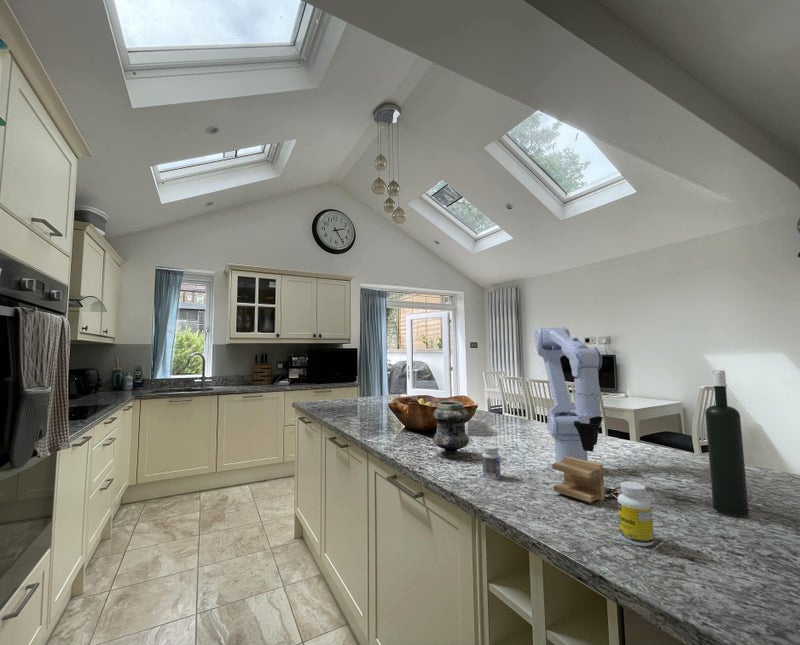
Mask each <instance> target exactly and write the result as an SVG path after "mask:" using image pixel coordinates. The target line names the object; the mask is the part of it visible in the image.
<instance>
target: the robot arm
mask: <svg viewBox="0 0 800 645" xmlns="http://www.w3.org/2000/svg"><path fill="white" fill-rule="evenodd" d="M534 344H535V348H536V352H537V355H538V356H539V357H541V358H542V359H543V362H544V367H545V371H546V376H547V379H548V384H549V390H550V393H551V398H552V401H553V402H552V403H553V406H552V407H551V408H550V409H549V410H548V411H547V414H546V419H547V421H546V422H547V430H548V434H550V435H551V437H552V438H554V455H555V456H554V458H555V463H557V462H560V461H563V457H565V456H568V457H573V458H577V459H581V460H586V461H589V460H588V458H589V457H588V452H594V449H595V445H597V444H598V438H599V430H600V427H601V423H602V421H603V419H604V418H603V416H602V411H601V400H600V399H601V397H600V381H599V370H601V368H602V365H603V357H602V356H603V355H602V353H601V351H600V349H598V347H597V346H596V347H592V348H590V347H588V346H587V345H586V344H585V343H583V342H582V341H581V340H579V338H578V337H576V336H575V337H571V333H570V331H569V329H568V328H567V326H566V327H565V326H563V327H537V328H536V329H535V331H534ZM563 356H565V357H566V358H567V359H568V360H569V365H570V368H571V375H572V377H573V378H574V379H573V380H574V381H573V382H574V393H575V395H574V397H575V398H574V399H575V405H573V404H572V402H571V399H570V395H569V394H570V393H569V391H568V386H567V382H566V379H565V375H564V371H563V367H562V363H561V358H562V357H563ZM549 468H550V469H552V464H551V465H549Z"/></svg>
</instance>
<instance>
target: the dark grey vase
mask: <svg viewBox="0 0 800 645" xmlns="http://www.w3.org/2000/svg"><path fill="white" fill-rule="evenodd" d="M432 416H433V418H434V419H435V420H436V433H434V435H433V437H432V442H433V443H434V445H435V446H437V447H438V448H441V449H443V450H442V451H441V452H438V453H437V454H436V456H437V457H438V458H440V459H444V460H453V461H454V460H461V459H465V458H467V456H466V454H465V453H464V452H462V451H459V450H461V449H463V448H466V446H468V444H469V443H470V438H469V436H468V435H467V434H466V425H465V424H466V420H467V419H468V418H469V412H468V411H467V410H466V409H465V407H464V403H463V402H461V401H456V400H455V401H453V400H452V401H451V400H443V401H438V403H437V408H436V409H434V411H433V415H432Z"/></svg>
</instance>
